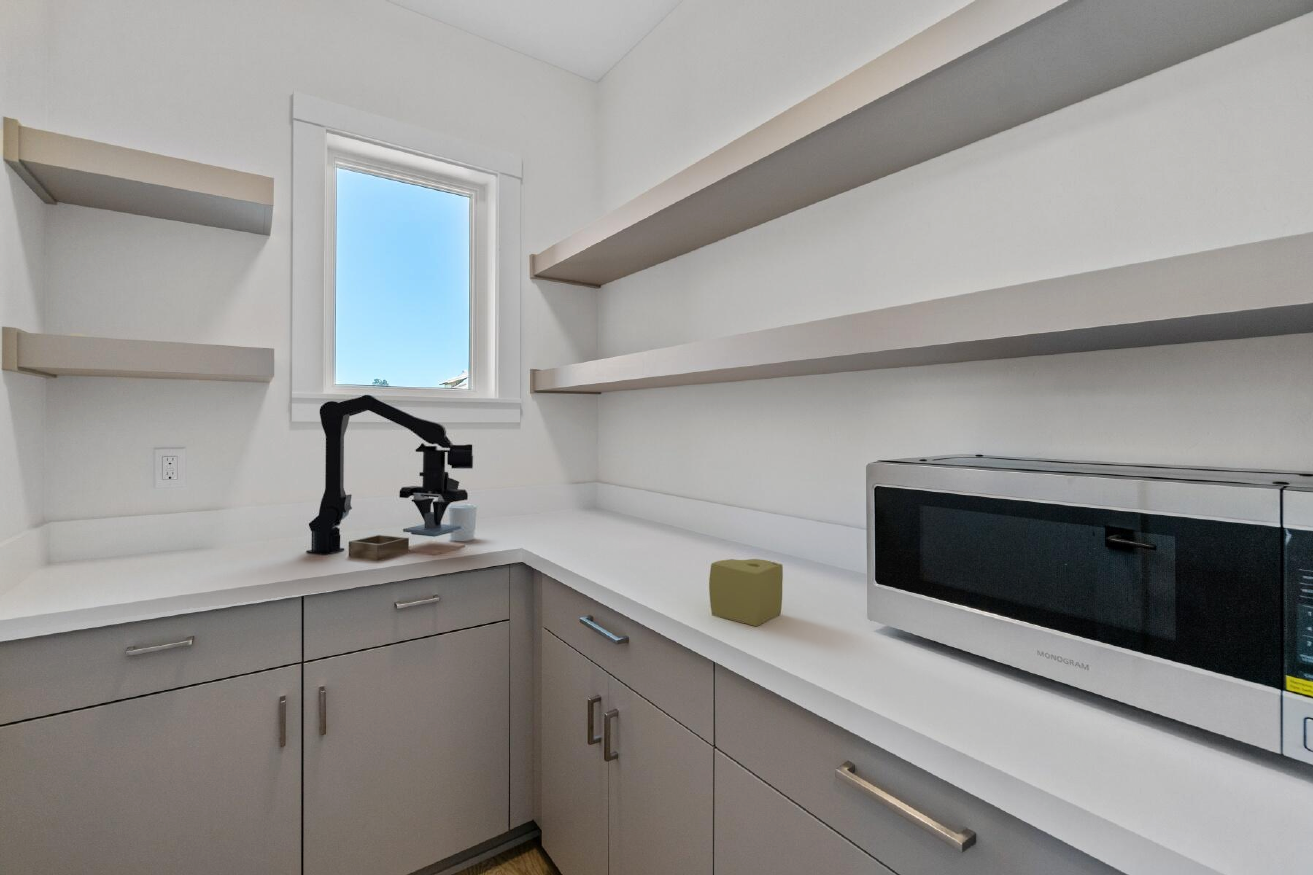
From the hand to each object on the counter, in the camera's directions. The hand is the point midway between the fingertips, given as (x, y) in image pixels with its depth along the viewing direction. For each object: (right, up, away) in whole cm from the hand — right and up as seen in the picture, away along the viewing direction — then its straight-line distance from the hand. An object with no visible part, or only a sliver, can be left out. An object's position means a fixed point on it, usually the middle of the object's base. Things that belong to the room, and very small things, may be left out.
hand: (432, 524), depth 161 cm
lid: (0, -2, 0) cm, 2 cm away
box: (-11, -7, -9) cm, 15 cm away
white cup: (+4, -7, +14) cm, 16 cm away
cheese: (+79, -10, -50) cm, 94 cm away
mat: (0, -7, 0) cm, 7 cm away
